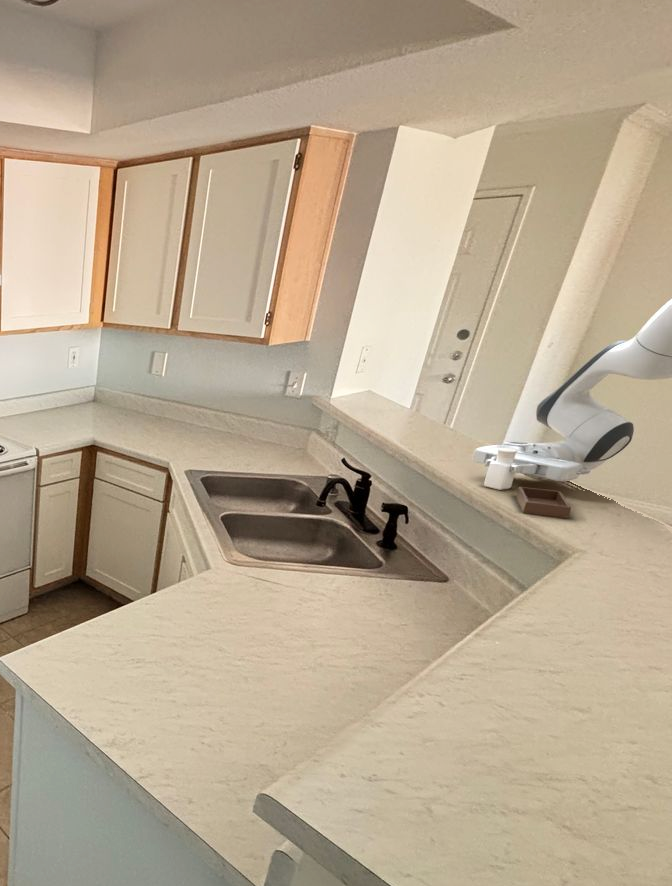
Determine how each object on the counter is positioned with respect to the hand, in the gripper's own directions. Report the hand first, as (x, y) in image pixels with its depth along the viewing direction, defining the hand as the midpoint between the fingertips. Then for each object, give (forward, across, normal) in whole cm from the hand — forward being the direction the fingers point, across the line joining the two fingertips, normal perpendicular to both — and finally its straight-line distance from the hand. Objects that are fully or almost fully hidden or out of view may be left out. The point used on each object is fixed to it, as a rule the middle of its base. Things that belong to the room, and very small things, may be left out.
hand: (500, 466), depth 142 cm
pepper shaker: (-1, 0, -6) cm, 6 cm away
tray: (+5, -13, -6) cm, 15 cm away
